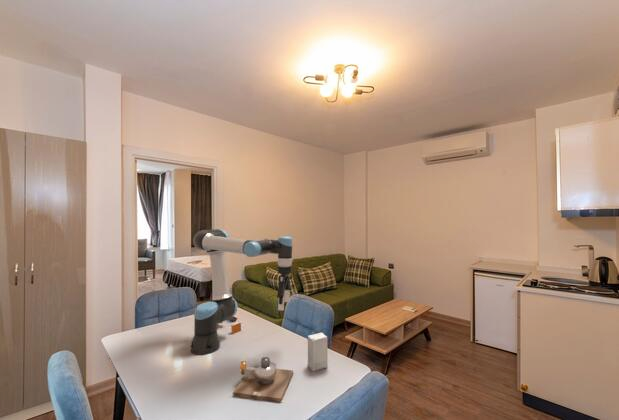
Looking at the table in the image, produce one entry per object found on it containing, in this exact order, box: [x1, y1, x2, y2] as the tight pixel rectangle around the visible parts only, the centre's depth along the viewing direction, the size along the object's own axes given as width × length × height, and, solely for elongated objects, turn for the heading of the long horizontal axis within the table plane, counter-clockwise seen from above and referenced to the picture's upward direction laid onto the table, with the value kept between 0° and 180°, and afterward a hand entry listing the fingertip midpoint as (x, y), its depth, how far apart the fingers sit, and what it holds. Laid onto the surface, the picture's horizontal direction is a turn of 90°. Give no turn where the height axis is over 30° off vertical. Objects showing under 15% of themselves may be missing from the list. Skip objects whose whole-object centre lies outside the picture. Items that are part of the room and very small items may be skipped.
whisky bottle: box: [220, 320, 245, 335], centre depth 181 cm, size 10×6×30 cm
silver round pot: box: [239, 356, 277, 382], centre depth 119 cm, size 16×9×7 cm, turn 80°
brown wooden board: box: [232, 365, 294, 403], centre depth 118 cm, size 20×20×3 cm
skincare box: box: [307, 332, 329, 372], centre depth 132 cm, size 8×6×15 cm
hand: (283, 305), depth 146 cm, fingers open, 13 cm apart
